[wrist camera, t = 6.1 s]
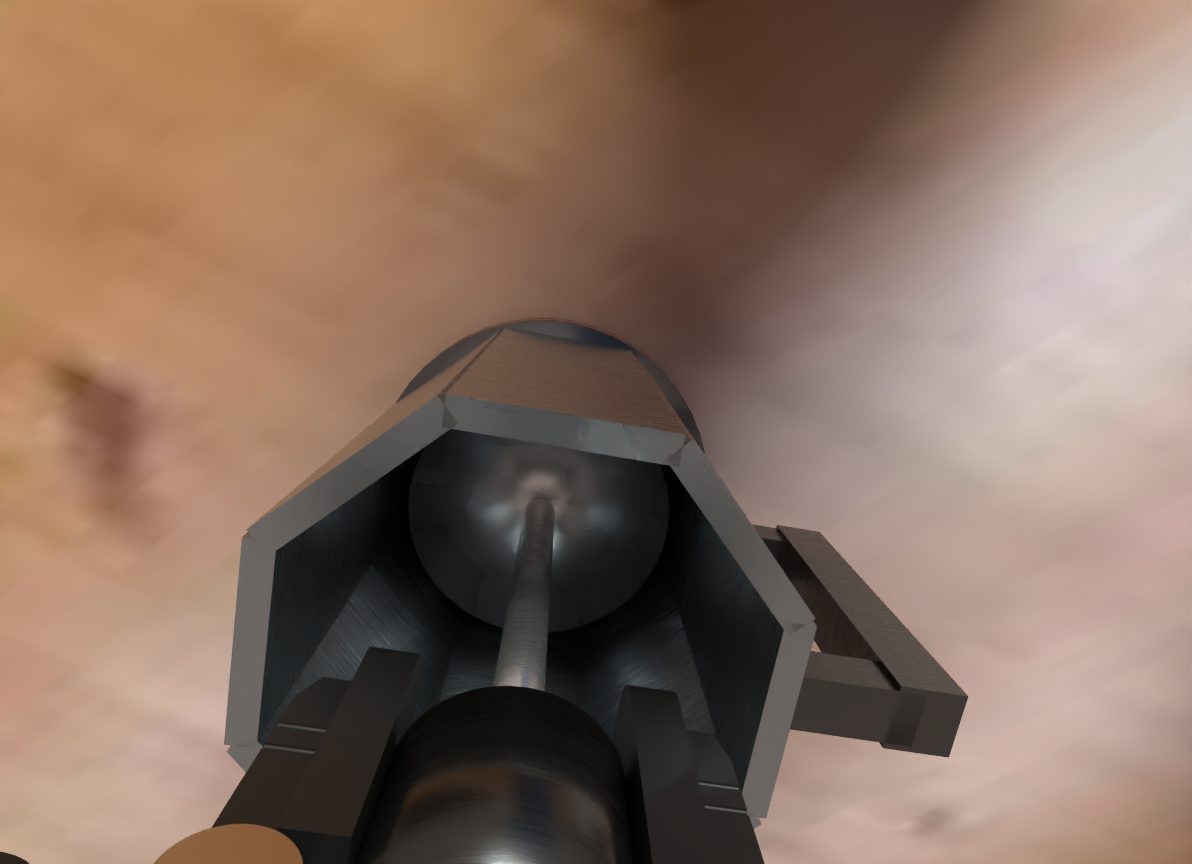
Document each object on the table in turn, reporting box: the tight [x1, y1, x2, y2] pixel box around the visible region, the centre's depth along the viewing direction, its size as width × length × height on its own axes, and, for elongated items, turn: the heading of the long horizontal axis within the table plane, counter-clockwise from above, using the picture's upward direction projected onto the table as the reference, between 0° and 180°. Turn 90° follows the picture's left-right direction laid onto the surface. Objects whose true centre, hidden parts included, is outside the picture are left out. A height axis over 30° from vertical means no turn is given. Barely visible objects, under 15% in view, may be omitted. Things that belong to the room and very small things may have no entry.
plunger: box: [355, 429, 669, 864], centre depth 14 cm, size 7×7×14 cm
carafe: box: [224, 318, 968, 829], centre depth 18 cm, size 12×10×12 cm
